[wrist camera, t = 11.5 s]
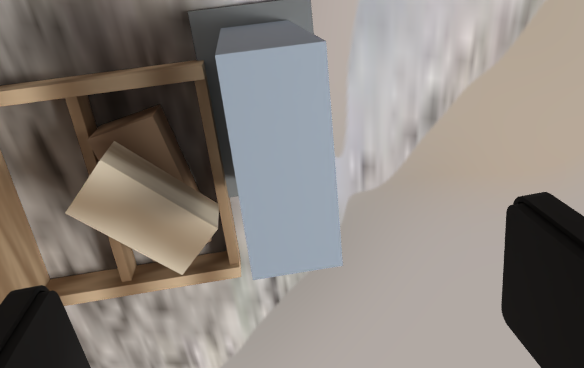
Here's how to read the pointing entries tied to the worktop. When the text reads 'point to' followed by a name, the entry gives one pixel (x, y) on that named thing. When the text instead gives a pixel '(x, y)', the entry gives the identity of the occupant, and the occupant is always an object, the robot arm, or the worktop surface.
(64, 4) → the worktop surface
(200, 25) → the mat
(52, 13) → the worktop surface
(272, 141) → the grey-blue rectangular brick
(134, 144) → the offcut lower
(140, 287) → the rack
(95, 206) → the offcut upper
